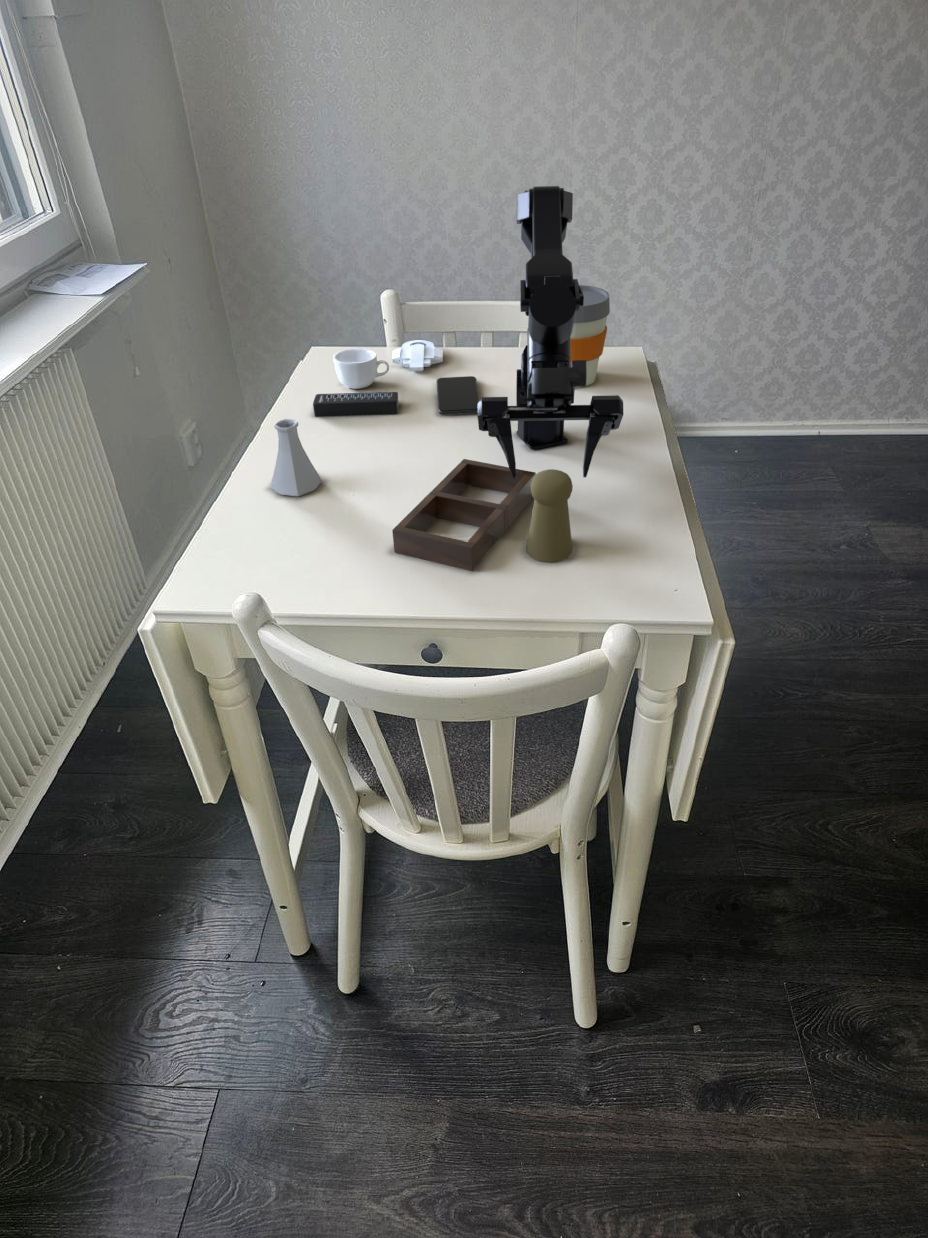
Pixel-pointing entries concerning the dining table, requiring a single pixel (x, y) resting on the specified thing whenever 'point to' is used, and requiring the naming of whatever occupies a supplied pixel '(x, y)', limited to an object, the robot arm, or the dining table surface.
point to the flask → (292, 463)
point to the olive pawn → (550, 517)
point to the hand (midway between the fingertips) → (549, 476)
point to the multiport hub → (356, 404)
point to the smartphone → (457, 395)
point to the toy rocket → (417, 355)
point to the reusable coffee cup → (590, 329)
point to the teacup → (357, 367)
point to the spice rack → (464, 514)
